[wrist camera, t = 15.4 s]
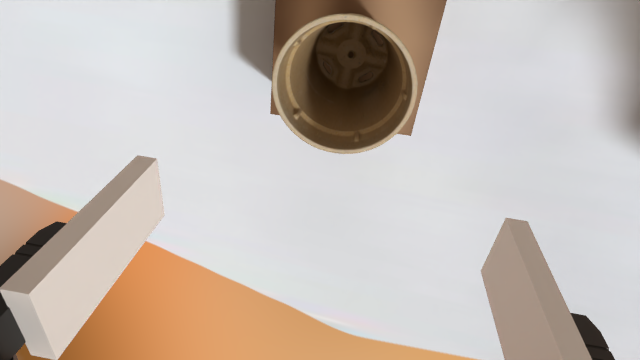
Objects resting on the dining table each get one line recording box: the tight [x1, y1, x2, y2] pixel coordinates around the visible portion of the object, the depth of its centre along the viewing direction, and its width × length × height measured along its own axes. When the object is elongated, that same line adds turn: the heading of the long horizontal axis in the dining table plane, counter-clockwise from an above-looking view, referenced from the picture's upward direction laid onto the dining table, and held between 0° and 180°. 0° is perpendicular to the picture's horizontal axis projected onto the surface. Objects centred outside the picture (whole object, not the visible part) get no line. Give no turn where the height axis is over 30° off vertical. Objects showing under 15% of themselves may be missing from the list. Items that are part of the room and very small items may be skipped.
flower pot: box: [272, 13, 418, 154], centre depth 30 cm, size 9×9×9 cm
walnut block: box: [270, 0, 447, 136], centre depth 36 cm, size 13×13×6 cm
